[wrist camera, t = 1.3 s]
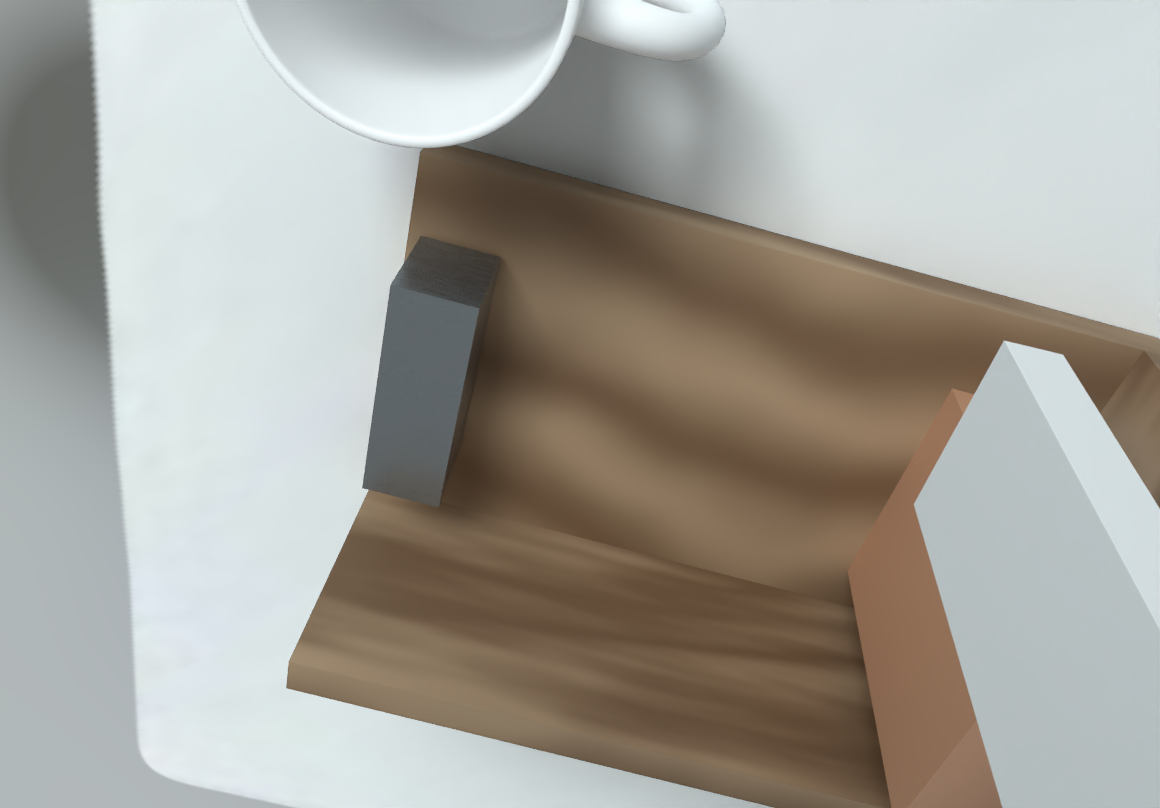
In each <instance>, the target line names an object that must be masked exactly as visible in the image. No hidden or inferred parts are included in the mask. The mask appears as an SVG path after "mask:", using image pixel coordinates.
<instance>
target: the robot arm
mask: <svg viewBox="0 0 1160 808" xmlns="http://www.w3.org/2000/svg"><path fill="white" fill-rule="evenodd" d="M914 507H915V510H916V514H917V517H918V521H919V524H920V528H921V531H922V534H923V538H924V541H925V545H926V548H927V552H928V555H929V558H930V562H931V565H932V569H933V572H934V575H935V579H936V582H937V586H938V589H939V593H940V596H941V599H942V603H943V606H944V610H945V613H946V617H947V620H948V623H949V627H950V630H951V634H952V637H953V640H954V644H955V647H956V651H957V654H958V658H959V661H960V664H961V668H962V671H963V675H964V678H965V681H966V685H967V688H968V692H969V695H970V699H971V702H972V705H973V709H974V712H975V716H976V719H977V723H978V726H979V729H980V733H981V736H982V740H983V743H984V746H985V750H986V753H987V757H988V760H989V764H990V767H991V770H992V774H993V777H994V781H995V784H996V787H997V791H998V794H999V798H1000V801H1001V805H1002V808H1160V508H1159V507H1158V505H1157V504H1156V502H1155V500H1154V499H1153V497H1152V496H1151V494H1150V492H1149V491H1148V489H1147V488H1146V486H1145V484H1144V483H1143V481H1142V480H1141V478H1140V476H1139V475H1138V473H1137V472H1136V470H1135V468H1134V467H1133V465H1132V464H1131V462H1130V460H1129V459H1128V457H1127V456H1126V454H1125V452H1124V451H1123V449H1122V448H1121V446H1120V445H1119V443H1118V441H1117V440H1116V438H1115V437H1114V435H1113V433H1112V432H1111V430H1110V429H1109V427H1108V425H1107V424H1106V422H1105V421H1104V419H1103V417H1102V416H1101V414H1100V413H1099V411H1098V409H1097V408H1096V406H1095V405H1094V403H1093V401H1092V400H1091V398H1090V397H1089V395H1088V394H1087V392H1086V390H1085V389H1084V387H1083V386H1082V384H1081V382H1080V381H1079V379H1078V378H1077V376H1076V374H1075V373H1074V371H1073V370H1072V368H1071V366H1070V365H1069V363H1068V362H1067V360H1066V358H1065V357H1064V355H1062V354H1058V353H1054V352H1050V351H1046V350H1042V349H1037V348H1033V347H1029V346H1025V345H1021V344H1017V343H1012V342H1008V341H1003V343H1002V345H1001V347H1000V349H999V350H998V352H997V354H996V356H995V358H994V359H993V361H992V363H991V365H990V367H989V369H988V370H987V372H986V374H985V376H984V378H983V379H982V381H981V383H980V385H979V387H978V389H977V390H976V392H975V394H974V396H973V398H972V399H971V401H970V403H969V405H968V407H967V408H966V410H965V412H964V414H963V416H962V418H961V419H960V421H959V423H958V425H957V427H956V428H955V430H954V432H953V434H952V436H951V438H950V439H949V441H948V443H947V445H946V447H945V448H944V450H943V452H942V454H941V456H940V458H939V459H938V461H937V463H936V465H935V467H934V468H933V470H932V472H931V474H930V476H929V477H928V479H927V481H926V483H925V485H924V487H923V488H922V490H921V492H920V494H919V496H918V497H917V499H916V501H915V503H914Z"/></svg>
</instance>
